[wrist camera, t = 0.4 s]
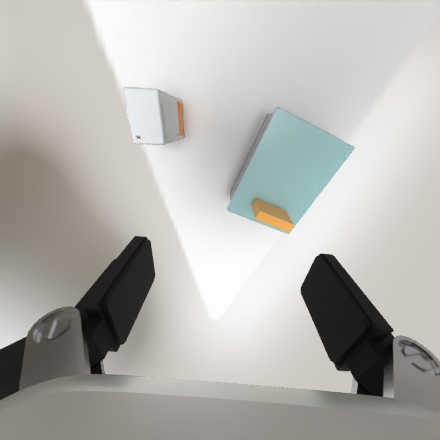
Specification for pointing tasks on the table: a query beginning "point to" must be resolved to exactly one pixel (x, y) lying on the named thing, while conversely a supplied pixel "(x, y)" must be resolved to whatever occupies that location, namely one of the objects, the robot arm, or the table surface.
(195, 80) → the table surface
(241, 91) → the table surface
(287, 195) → the lid
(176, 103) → the skincare box
